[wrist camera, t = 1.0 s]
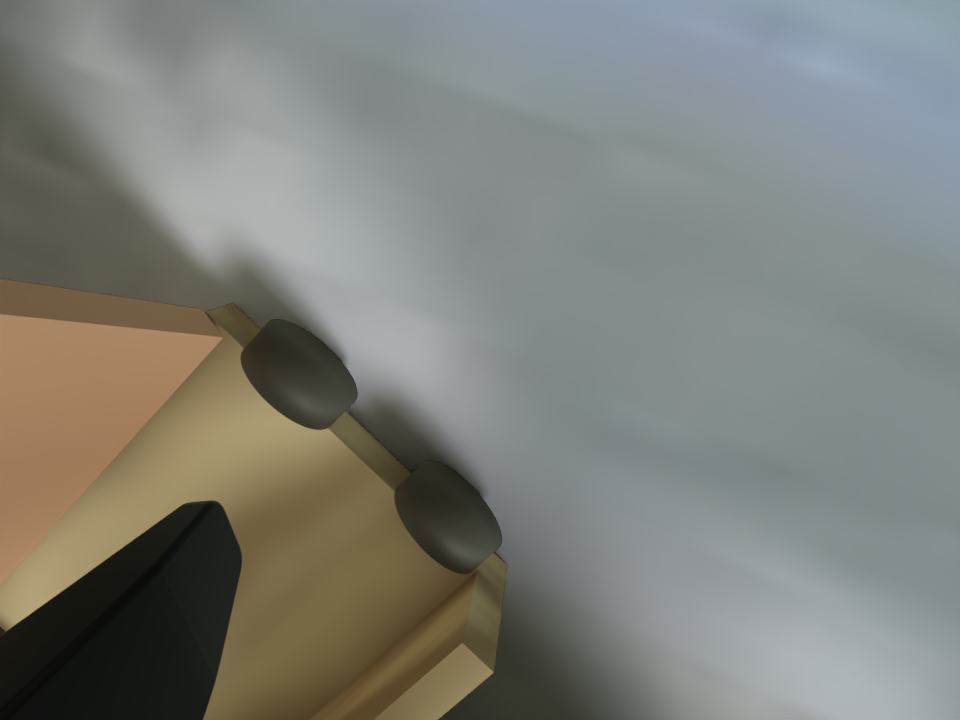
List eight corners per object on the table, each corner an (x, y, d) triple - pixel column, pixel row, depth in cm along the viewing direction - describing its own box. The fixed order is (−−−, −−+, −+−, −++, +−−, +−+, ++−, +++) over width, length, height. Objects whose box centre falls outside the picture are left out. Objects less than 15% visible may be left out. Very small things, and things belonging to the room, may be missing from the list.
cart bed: (531, 544, 26) (525, 646, 20) (235, 805, 29) (155, 957, 23) (255, 277, 25) (162, 302, 19) (-18, 582, 28) (-166, 683, 22)
